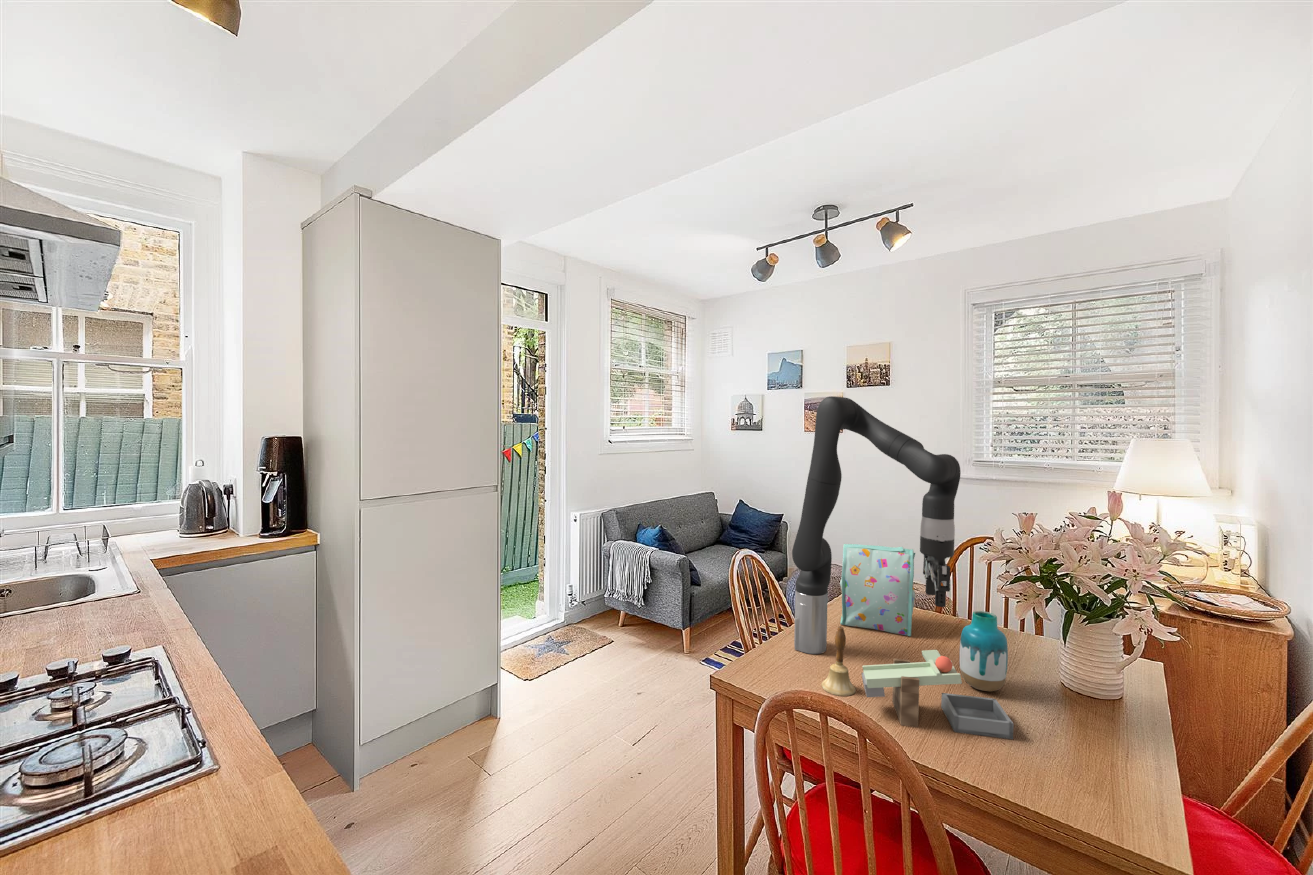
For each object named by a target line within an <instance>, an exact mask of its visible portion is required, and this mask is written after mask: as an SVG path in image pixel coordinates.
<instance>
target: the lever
mask: <svg viewBox="0 0 1313 875" xmlns="http://www.w3.org/2000/svg"><path fill="white" fill-rule="evenodd" d="M921 656H922V657H923V660H925V661H921V662H920V661H918V662H910V663H899V664H893V663H885V664H869V665H862V672H861V677H862V684H863V689H864V692H865V696H866V698H882V697H886V694H885V688H893V687H901V676H904V677H914V678H919V687H920V686H937V685H940V686H941V685H961V684H962V683H963V682H962V675H961V672H958V671H957V670H956V668H955V666H954V664H953V661H952V660H951V662H952V665H953V667H952V669H951V671H949V672H941V671H940V670H938V668H937V667H936V664H935V662H936V659H937V658H938V657H940V656H942V655H941V654H940V651H938V650H937V649H928V650H926V649H925V650H921Z"/></svg>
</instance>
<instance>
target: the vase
mask: <svg viewBox="0 0 1313 875" xmlns="http://www.w3.org/2000/svg"><path fill="white" fill-rule="evenodd" d="M998 627H999V626H998V617H997V615H996V614H994V613H992V612H989V611H984V610H975V611H973V612H972V616H971V622H970V623H969V624H967V625H965V626H964V627H963V629H962V631H961V635H960V640H959V671H960V674H961V678H962V679H963V681H964V682H966V684H967V685H969V686H970V687H972V688H974V689H976V690H979V691H984V692H996V691H998V690H1000V689H1002V688H1003V687H1004V686H1005V683H1006V679H1007V673H1008V666H1009V665H1008V663H1009V662H1008V661H1009V660H1008V658H1009V652H1008V651H1009V650H1008V639H1007V636H1006V635H1005V633H1004V632H1003V631H1002V630H1000V629H999V628H998Z"/></svg>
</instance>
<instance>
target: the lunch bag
mask: <svg viewBox="0 0 1313 875" xmlns="http://www.w3.org/2000/svg"><path fill="white" fill-rule="evenodd" d="M842 548H843V549H842V565H841V578H840V582H839V585H840V589H841V609H842V610H841V616H840V623H839V624H840V625H845V626H849V627H856V628H857V627H858V628H862V629H863V628H864V629H872V630H876V631H883V632H885V633H886V632H887V633H891V634H897V635H901V636H902V635H903V636H908V637H911V636H912V624H913V623H912V622H913V621H912V620H913V613H914V606H915V598H916V594H915V593H916V592H915V588H914V579H915V578H914V577H915V571H914V570H915V564H914V563H915V560H914V559H915V556H916V552H914V549H913V548H912V549H909V548H904V547H903V546H898V547H893V546H891V547H890V546H883V545H873V544H871V545H870V544H869V545H868V544H867V545H866V544H860V543H859V544H855V543H853V544H852V543H848V544H847V543H844V544H843V547H842Z"/></svg>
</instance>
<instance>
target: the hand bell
mask: <svg viewBox="0 0 1313 875" xmlns="http://www.w3.org/2000/svg"><path fill="white" fill-rule="evenodd" d="M846 637H847V636H846V634H845V630H844V627H843V626H838V627H837V630H836V633H835V637H834V645H835V648H836V656H835V657H836V659H835V663H833V664H831V665H830V666H829V671H828V675H827V677H826V679H824V680H823V681H822V682H821V687H822V689H823V690H824V691H826V692H827V693H829V694H831V695H834V696H837V697H849V696H852V695H854V694H856V687H855V686H854V684H853V683H852V681H851V679H850V675H849V673H850V672H849V668H848V667H847V666H845V665H844V651H845V650H844V649H845V647H846V642H847V641H846V640H847V638H846Z"/></svg>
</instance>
